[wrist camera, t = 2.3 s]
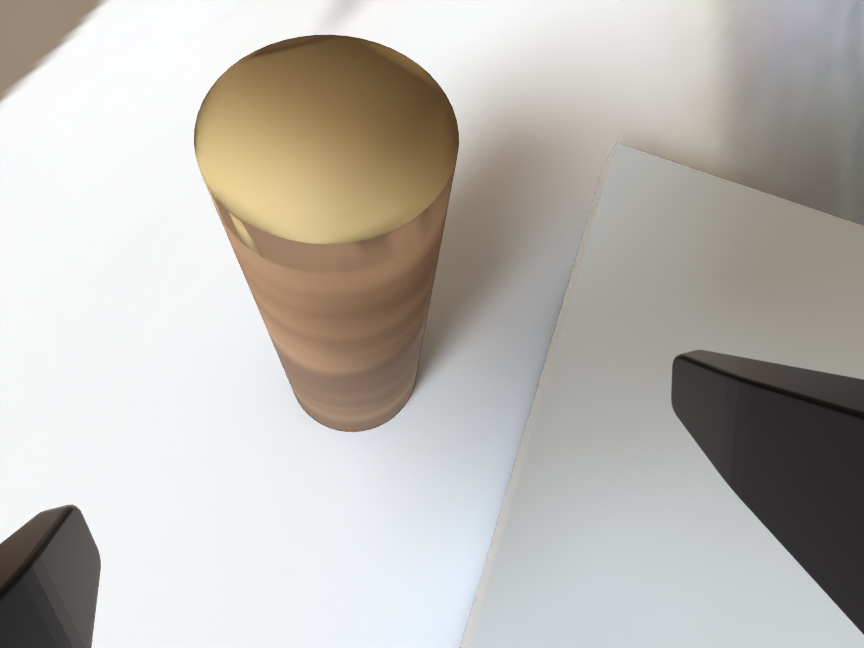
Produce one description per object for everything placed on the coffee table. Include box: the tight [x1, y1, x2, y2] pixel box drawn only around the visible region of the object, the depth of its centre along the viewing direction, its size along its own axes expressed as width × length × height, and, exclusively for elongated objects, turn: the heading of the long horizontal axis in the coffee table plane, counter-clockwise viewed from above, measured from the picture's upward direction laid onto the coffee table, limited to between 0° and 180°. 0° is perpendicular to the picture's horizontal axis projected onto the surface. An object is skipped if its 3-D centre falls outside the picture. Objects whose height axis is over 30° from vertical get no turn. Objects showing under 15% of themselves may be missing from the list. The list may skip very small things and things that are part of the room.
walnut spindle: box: [194, 35, 459, 432], centre depth 16 cm, size 4×4×12 cm
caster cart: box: [460, 143, 864, 648], centre depth 19 cm, size 22×16×4 cm
